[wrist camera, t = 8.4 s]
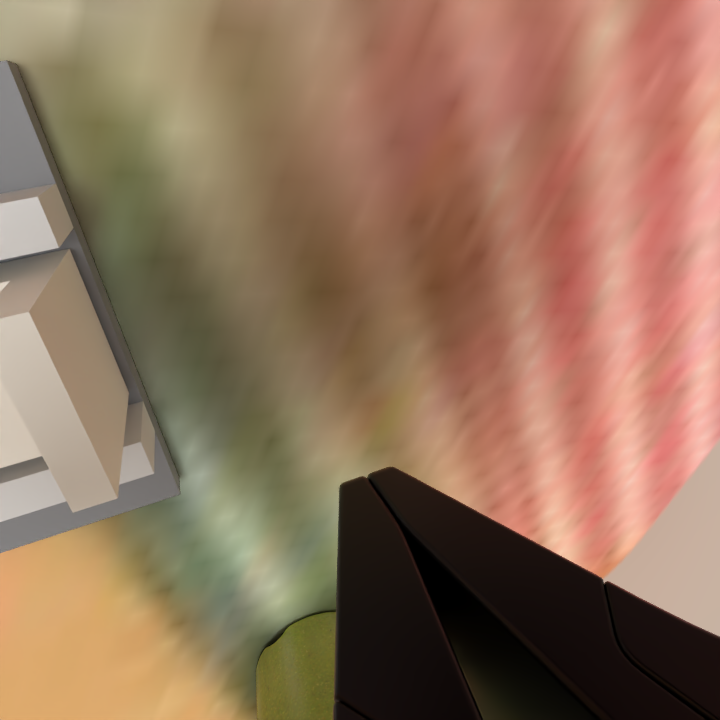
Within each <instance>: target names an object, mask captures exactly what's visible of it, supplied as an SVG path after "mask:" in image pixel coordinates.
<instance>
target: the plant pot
mask: <svg viewBox="0 0 720 720" xmlns="http://www.w3.org/2000/svg"><path fill="white" fill-rule="evenodd" d="M335 628H336V612H327V613H321V614H317V615H313V616H310V617H307V618H304V619H302V620H300V621H298V622H296V623H294V624H292V625H290V626H289V627H288V628H287V629H286V630H285V632H284V633H283V635H282V636H281V637H280V638H279V639H278V640H277V641H276V642H275V643H274V644H273V645H271V646H269V647H267V648H265V649H264V651H263V653H262V654H261V656H260V658H259V661H258V664H257V668H256V697H257V720H332V719H333V705H334V704H335V702H334V663H335Z"/></svg>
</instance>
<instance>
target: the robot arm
mask: <svg viewBox="0 0 720 720" xmlns="http://www.w3.org/2000/svg"><path fill="white" fill-rule="evenodd" d="M334 702H335V704H334V705H333V719H332V720H720V637H719V636H717V635H715V634H713V633H710V632H708V631H706V630H704V629H702V628H699V627H697V626H695V625H693V624H691V623H689V622H686V621H685V620H683V619H681V618H679V617H677V616H674V615H673V614H671V613H669V612H667V611H664V610H663V609H661V608H659V607H657V606H655V605H653V604H651V603H649V602H647V601H645V600H643V599H641V598H639V597H637V596H635V595H633V594H632V593H630V592H628V591H626V590H624V589H622V588H620V587H618V586H617V585H615V584H613V583H611V582H608V581H607V582H605V583H604V582H603V579H602V578H601V577H599V576H597V575H596V574H594V573H592V572H590V571H588V570H586V569H584V568H582V567H581V566H579V565H577V564H575V563H573V562H571V561H569V560H567V559H566V558H564V557H562V556H560V555H558V554H556V553H554V552H552V551H551V550H549V549H547V548H545V547H543V546H541V545H539V544H537V543H536V542H534V541H532V540H530V539H528V538H526V537H524V536H522V535H521V534H519V533H517V532H515V531H513V530H511V529H509V528H507V527H506V526H504V525H502V524H500V523H498V522H496V521H494V520H492V519H491V518H489V517H487V516H485V515H483V514H481V513H479V512H477V511H476V510H474V509H472V508H470V507H468V506H466V505H464V504H462V503H461V502H459V501H457V500H455V499H453V498H451V497H449V496H448V495H446V494H444V493H442V492H440V491H438V490H436V489H434V488H433V487H431V486H429V485H427V484H425V483H423V482H421V481H419V480H418V479H416V478H414V477H412V476H410V475H408V474H406V473H404V472H403V471H401V470H399V469H397V468H395V467H387V468H384V469H381V470H378V471H376V472H373V473H370V474H369V475H368V477H367V478H366V477H363V476H361V477H358V478H355V479H352V480H350V481H347V482H344V483H342V484H341V485H340V488H339V521H338V557H337V592H336V628H335V663H334Z"/></svg>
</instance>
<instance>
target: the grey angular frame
mask: <svg viewBox="0 0 720 720" xmlns="http://www.w3.org/2000/svg"><path fill="white" fill-rule="evenodd" d="M65 249H70V251H71V253H72V256H73V258H74V261H75V263H76V266H77V268H78V270H79V273H80V275H81V278H82V280H83V283H84V285H85V287H86V290H87V292H88V295H89V297H90V300H91V302H92V304H93V307H94V309H95V312H96V314H97V317H98V319H99V321H100V324H101V326H102V329H103V331H104V334H105V336H106V338H107V341H108V343H109V346H110V348H111V351H112V353H113V355H114V358H115V360H116V363H117V365H118V368H119V370H120V372H121V375H122V377H123V380H124V382H125V385H126V387H127V389H128V392H129V397H128V406H127V416H126V425H125V434H124V444H123V453H122V463H121V472H120V482H119V491H118V498H117V499H114V500H111V501H108V502H105V503H102V504H99V505H96V506H92V507H89V508H86V509H83V510H80V511H77V512H74V513H73V512H72V511H71V509H70V507H69V505H68V503H67V501H66V499H65V498H64V496H63V494H62V492H61V490H60V488H59V486H58V485H57V483H56V481H55V479H54V477H53V475H52V474H51V472H50V470H49V468H48V466H47V464H46V462H45V461H44V459H43V457H42V456H40V457H37V458H34V459H30V460H27V461H23V462H20V463H16V464H13V465H10V466H6V467H3V468H0V553H2V552H5V551H8V550H11V549H14V548H17V547H20V546H23V545H26V544H30V543H33V542H36V541H39V540H42V539H45V538H48V537H51V536H54V535H57V534H60V533H63V532H66V531H69V530H72V529H75V528H78V527H82V526H85V525H88V524H91V523H94V522H97V521H100V520H103V519H106V518H109V517H112V516H115V515H118V514H121V513H124V512H127V511H130V510H133V509H137V508H140V507H143V506H146V505H149V504H152V503H155V502H158V501H161V500H164V499H167V498H170V497H173V496H176V495H179V494H180V481H179V476H178V473H177V471H176V468H175V466H174V463H173V461H172V458H171V455H170V453H169V450H168V448H167V445H166V443H165V440H164V438H163V435H162V433H161V430H160V427H159V425H158V422H157V420H156V417H155V415H154V412H153V410H152V407H151V405H150V402H149V400H148V397H147V394H146V392H145V389H144V387H143V384H142V382H141V379H140V377H139V374H138V372H137V369H136V367H135V364H134V361H133V359H132V356H131V354H130V351H129V349H128V346H127V344H126V341H125V339H124V336H123V333H122V331H121V328H120V326H119V323H118V321H117V318H116V316H115V313H114V311H113V308H112V306H111V303H110V300H109V298H108V295H107V293H106V290H105V288H104V285H103V283H102V280H101V278H100V275H99V273H98V270H97V267H96V265H95V262H94V260H93V257H92V255H91V252H90V250H89V247H88V245H87V242H86V239H85V237H84V234H83V232H82V229H81V227H80V224H79V222H78V219H77V217H76V214H75V212H74V209H73V206H72V204H71V201H70V199H69V196H68V194H67V191H66V189H65V186H64V184H63V181H62V179H61V176H60V173H59V171H58V168H57V166H56V163H55V161H54V158H53V156H52V153H51V151H50V148H49V146H48V143H47V140H46V138H45V135H44V133H43V130H42V128H41V125H40V123H39V120H38V118H37V115H36V112H35V110H34V107H33V105H32V102H31V100H30V97H29V95H28V92H27V90H26V87H25V85H24V82H23V79H22V77H21V74H20V72H19V69H18V67H17V64H16V63H13V62H10V61H0V263H4V262H8V261H13V260H18V259H23V258H27V257H32V256H37V255H41V254H46V253H51V252H56V251H60V250H65Z"/></svg>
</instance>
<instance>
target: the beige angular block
mask: <svg viewBox="0 0 720 720" xmlns="http://www.w3.org/2000/svg"><path fill="white" fill-rule="evenodd" d="M128 397H129V392H128V389H127V387H126V385H125V382H124V380H123V377H122V375H121V372H120V370H119V368H118V365H117V363H116V360H115V358H114V355H113V353H112V351H111V348H110V346H109V343H108V341H107V338H106V336H105V334H104V331H103V329H102V326H101V324H100V321H99V319H98V317H97V314H96V312H95V309H94V307H93V304H92V302H91V300H90V297H89V295H88V292H87V290H86V287H85V285H84V283H83V280H82V278H81V275H80V273H79V270H78V268H77V266H76V263H75V261H74V258H73V256H72V253H71V251H70V249H65V250H60V251H56V252H51V253H46V254H41V255H37V256H32V257H27V258H23V259H18V260H13V261H8V262H4V263H0V468H3V467H6V466H10V465H13V464H16V463H20V462H23V461H27V460H30V459H34V458H37V457H40V456H42V457H43V459H44V461H45V462H46V464H47V466H48V468H49V470H50V472H51V474H52V475H53V477H54V479H55V481H56V483H57V485H58V486H59V488H60V490H61V492H62V494H63V496H64V498H65V499H66V501H67V503H68V505H69V507H70V509H71V511H72V512H73V513H74V512H77V511H80V510H83V509H86V508H89V507H92V506H96V505H99V504H102V503H105V502H108V501H111V500H114V499H117V498H118V491H119V482H120V472H121V463H122V453H123V444H124V434H125V425H126V416H127V406H128Z"/></svg>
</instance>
